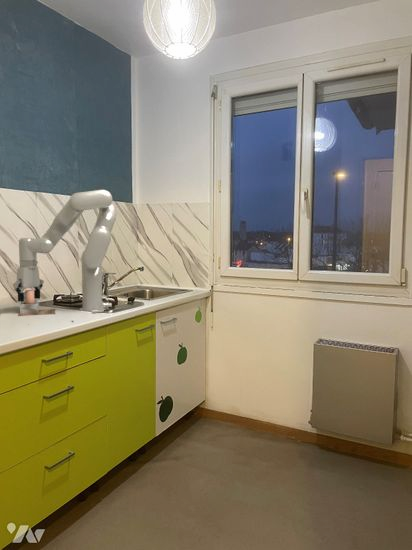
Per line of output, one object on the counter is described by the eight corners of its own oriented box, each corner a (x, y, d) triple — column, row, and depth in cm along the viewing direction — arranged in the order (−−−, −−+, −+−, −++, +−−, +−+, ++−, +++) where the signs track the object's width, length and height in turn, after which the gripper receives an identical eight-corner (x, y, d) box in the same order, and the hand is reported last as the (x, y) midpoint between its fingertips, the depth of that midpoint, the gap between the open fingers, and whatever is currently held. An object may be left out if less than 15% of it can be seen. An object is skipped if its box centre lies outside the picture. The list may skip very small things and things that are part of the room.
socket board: (55, 311, 204) (55, 300, 204) (55, 316, 191) (55, 305, 191) (20, 313, 199) (19, 302, 198) (17, 318, 186) (17, 307, 185)
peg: (34, 310, 199) (34, 290, 198) (34, 311, 195) (33, 291, 195) (25, 311, 198) (25, 290, 197) (25, 312, 194) (24, 291, 193)
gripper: (36, 262, 203) (37, 296, 205) (7, 264, 188) (8, 301, 189) (48, 263, 200) (49, 297, 202) (18, 265, 185) (20, 303, 186)
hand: (29, 299), depth 196 cm, fingers open, 9 cm apart
